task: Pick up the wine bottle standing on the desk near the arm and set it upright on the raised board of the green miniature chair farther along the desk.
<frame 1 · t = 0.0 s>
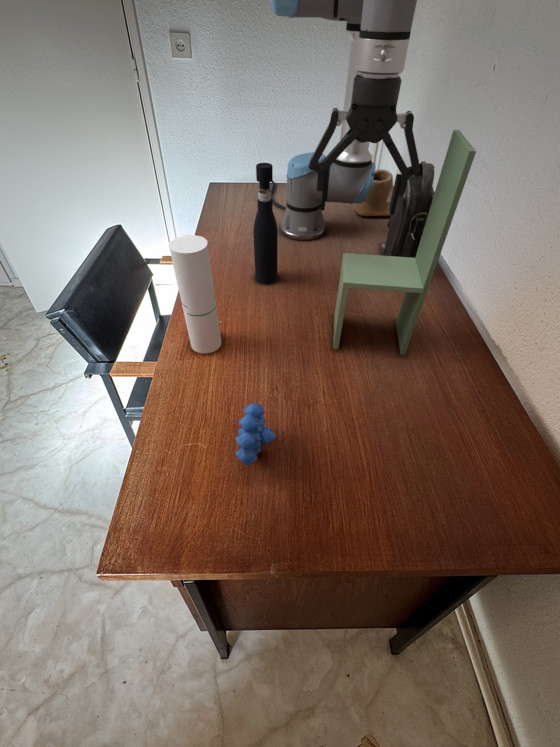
hand: (356, 209, 74), 28 cm above the table, tool pointing down, fingers open, 13 cm apart
cylindrical container: (206, 343, 88), on the table
wine bottle: (266, 278, 108), on the table
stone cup: (375, 215, 139), on the table
grapes: (257, 453, 67), on the table
shoulder bag: (398, 263, 115), on the table
green miniature chair: (366, 335, 90), on the table
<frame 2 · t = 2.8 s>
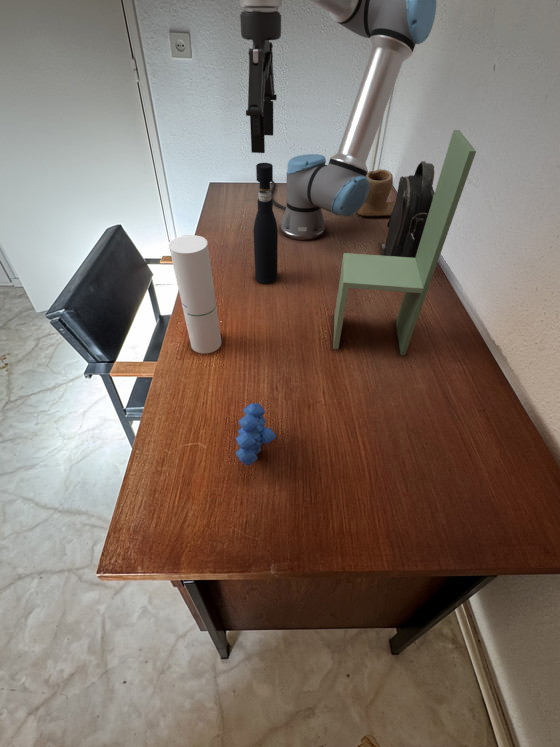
hand: (263, 143, 83), 34 cm above the table, tool pointing down, fingers open, 13 cm apart
nothing on the table moved.
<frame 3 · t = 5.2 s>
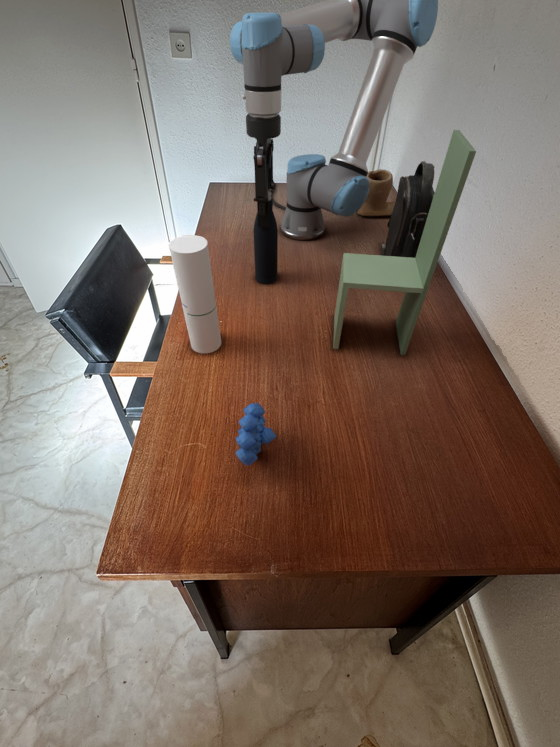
hand: (265, 221, 95), 17 cm above the table, tool pointing down, fingers closed on wine bottle, 5 cm apart
wine bottle: (266, 278, 108), on the table, touching gripper
everything else where it was.
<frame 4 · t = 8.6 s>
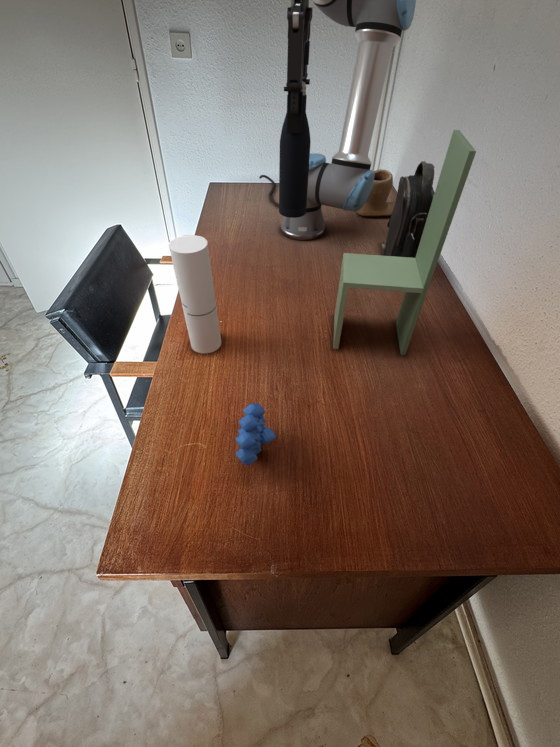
hand: (295, 128, 75), 39 cm above the table, tool pointing down, fingers closed on wine bottle, 5 cm apart
wine bottle: (292, 213, 87), point 22 cm above the table, touching gripper
everything else where it was.
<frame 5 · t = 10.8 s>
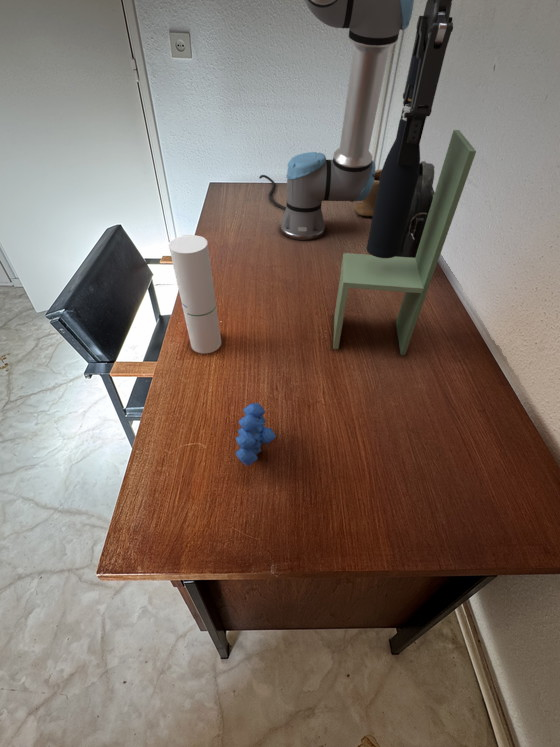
hand: (403, 158, 63), 39 cm above the table, tool pointing down, fingers closed on wine bottle, 5 cm apart
wine bottle: (382, 251, 75), point 22 cm above the table, touching gripper
everything else where it was.
when the fingers open (35 cm above the table, at t = 12.2 s): wine bottle stays where it is, resting on green miniature chair.
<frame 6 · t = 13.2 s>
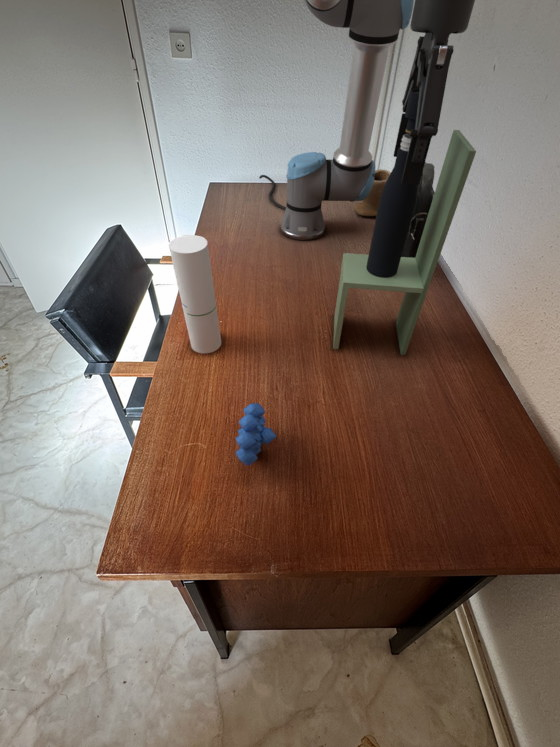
hand: (405, 169, 63), 37 cm above the table, tool pointing down, fingers open, 13 cm apart
wine bottle: (381, 270, 77), point 18 cm above the table, touching green miniature chair
everything else where it was.
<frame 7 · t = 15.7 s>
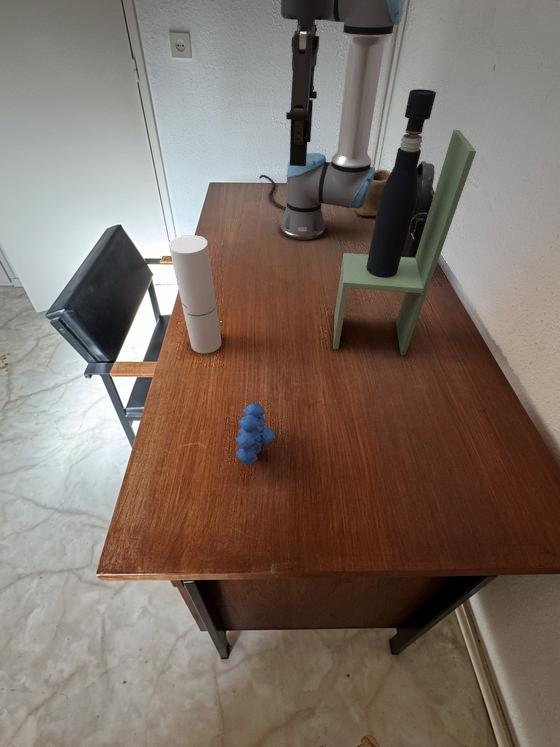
hand: (300, 152, 66), 38 cm above the table, tool pointing down, fingers open, 13 cm apart
nothing on the table moved.
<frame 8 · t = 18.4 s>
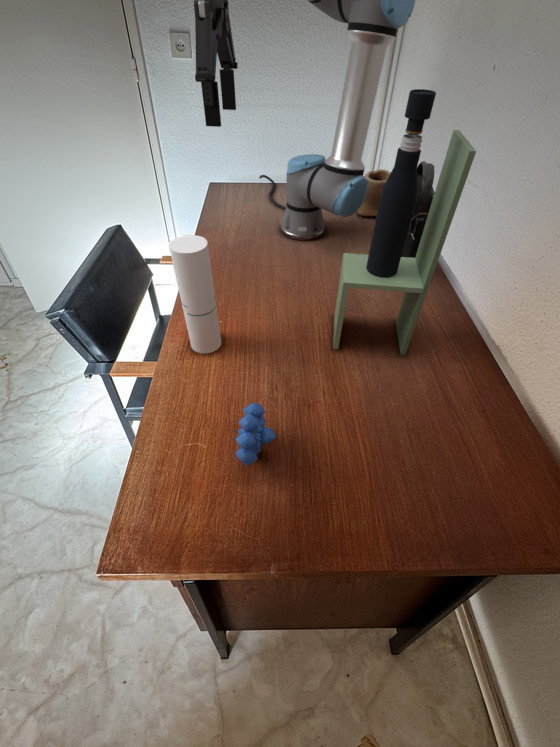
hand: (222, 117, 73), 41 cm above the table, tool pointing down, fingers open, 13 cm apart
nothing on the table moved.
at the end: wine bottle inside the target area on the green miniature chair (0.1 cm from its centre), point 17.8 cm above the green miniature chair's base; wine bottle tilted 0°; the gripper is holding nothing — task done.
